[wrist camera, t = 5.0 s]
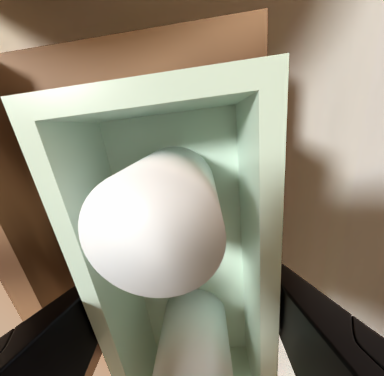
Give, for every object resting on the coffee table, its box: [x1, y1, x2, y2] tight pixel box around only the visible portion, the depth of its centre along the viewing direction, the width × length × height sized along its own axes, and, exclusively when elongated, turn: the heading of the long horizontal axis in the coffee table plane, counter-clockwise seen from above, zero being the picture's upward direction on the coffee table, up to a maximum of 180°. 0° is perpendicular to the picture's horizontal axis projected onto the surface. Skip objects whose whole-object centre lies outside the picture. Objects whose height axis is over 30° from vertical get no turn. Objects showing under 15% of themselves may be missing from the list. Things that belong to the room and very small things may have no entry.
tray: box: [1, 53, 289, 376], centre depth 7 cm, size 14×6×5 cm, turn 7°
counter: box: [0, 8, 268, 376], centre depth 12 cm, size 20×14×8 cm
